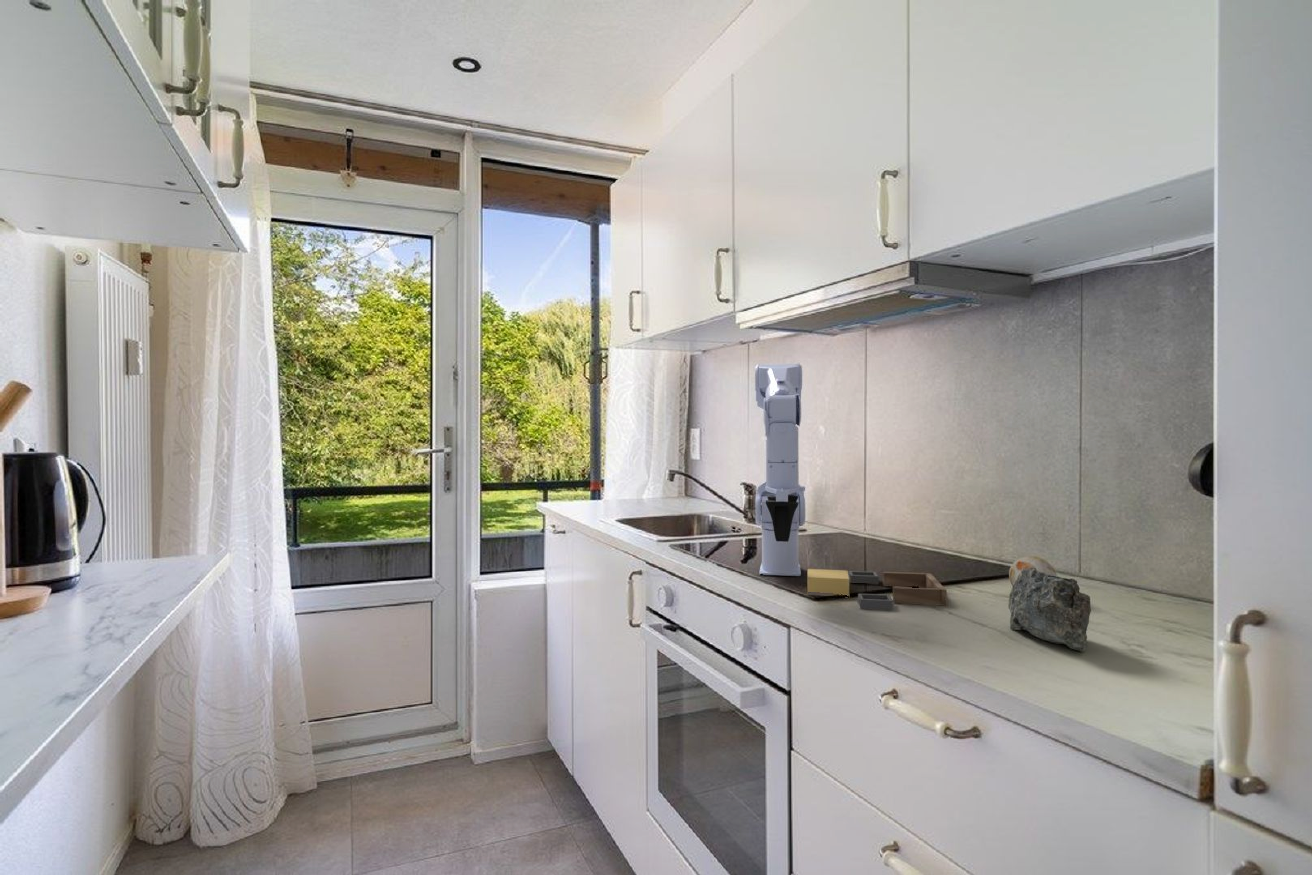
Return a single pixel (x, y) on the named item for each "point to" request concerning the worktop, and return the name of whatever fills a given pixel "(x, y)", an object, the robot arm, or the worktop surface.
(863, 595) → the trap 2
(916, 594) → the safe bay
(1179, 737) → the worktop surface
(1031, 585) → the rock
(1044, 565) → the cream rounded piece
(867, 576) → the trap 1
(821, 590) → the block
